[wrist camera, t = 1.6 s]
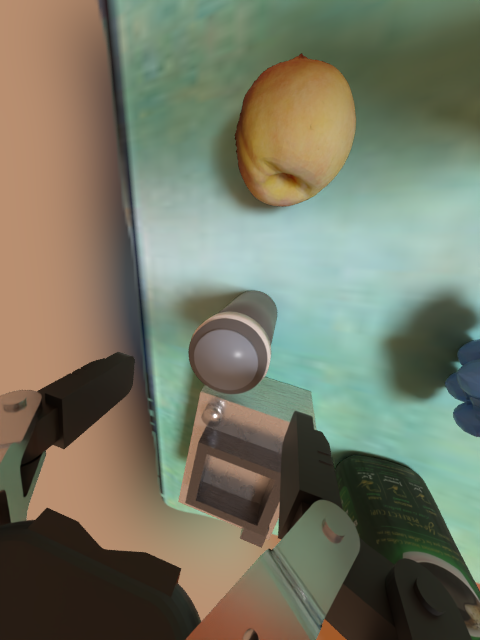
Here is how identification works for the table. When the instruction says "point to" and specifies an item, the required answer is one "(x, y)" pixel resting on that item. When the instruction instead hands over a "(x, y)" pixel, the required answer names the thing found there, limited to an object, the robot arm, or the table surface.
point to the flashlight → (235, 344)
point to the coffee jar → (406, 526)
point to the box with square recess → (241, 455)
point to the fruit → (294, 130)
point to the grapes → (467, 388)
